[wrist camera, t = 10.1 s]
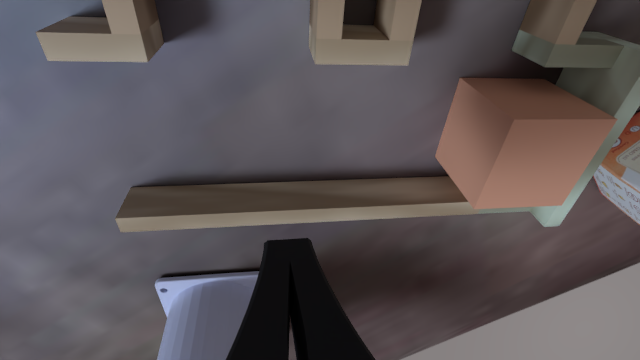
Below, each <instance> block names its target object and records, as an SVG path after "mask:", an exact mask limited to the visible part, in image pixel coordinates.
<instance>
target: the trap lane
mask: <svg viewBox="0 0 640 360" xmlns="http://www.w3.org/2000/svg"><path fill="white" fill-rule="evenodd" d="M596 1H597V0H530V3H529V6H528V8H527V11H526V14H525V16H524V19H523V21H522V24H521V27H520V29H519V32H518V34H517V37H516V40H515V42H514V45H513V47H512V51H514V52H516V53H518V54H520V55H522V56H524V57H525V58H527V59H529V60H531V61H533V62H535V63H537V64H539V65H541V66H543V67H564V68H563V70H562V72H561V74H560V76H559V78H558V80H557V82H556V86H558V87H560V88H561V89H563V90H565V91H567V92H569V93H571V94H572V95H574V96H576V97H578V98H580V99H582V100H583V101H585V102H587V103H589V104H591V105H593V106H594V107H596V108H598V109H600V110H602V111H604V112H605V113H607V114H609V115H611V116H613V117H615V118H616V119H618V120H617V121H616V123H615V124H614V126H613V128H612V129H611V131H610V132H609V134H608V135H607V137H606V138H605V140H604V141H603V143H602V144H601V146H600V147H599V149H598V151H597V152H596V154H595V155H594V157H593V158H592V160H591V161H590V163H589V164H588V166H587V167H586V169H585V171H584V172H583V174H582V175H581V177H580V178H579V180H578V181H577V183H576V184H575V186H574V187H573V189H572V190H571V192H570V194H569V195H568V197H567V198H566V200H565V201H564V203H563V204H562V206H539V207H515V208H492V209H473V207H472V206H471V205H470V203H469V202H468V201H467V199H466V198H465V197H464V195H463V194H462V192H461V191H460V190H459V188H458V187H457V186H456V184H455V183H454V182H453V180H452V179H451V178H450V176H440V177H412V178H383V179H355V180H326V181H298V182H269V183H241V184H213V185H184V186H156V187H131V188H130V190H129V192H128V194H127V196H126V198H125V200H124V202H123V204H122V206H121V208H120V210H119V212H118V214H117V216H116V218H115V220H116V222H117V224H118V227H119V229H120V231H121V232H136V231H156V230H175V229H194V228H213V227H233V226H252V225H271V224H290V223H309V222H329V221H348V220H367V219H386V218H406V217H425V216H444V215H463V214H482V213H502V212H521V211H530V212H531V213H532V214H533V215H534V216H535V218H536V219H537V220H538V221H539V222H540V223H541V224H542V225H543V226H544V227H550V226H559V225H560V224H561V222H562V221H563V219H564V218H565V216H566V215H567V213H568V212H569V210H570V209H571V208H572V206H573V205H574V203H575V202H576V200H577V199H578V197H579V196H580V194H581V193H582V191H583V190H584V188H585V187H586V185H587V184H588V182H589V181H590V179H591V178H592V176H593V175H594V173H595V172H596V170H597V169H598V167H599V166H600V164H601V163H602V161H603V160H604V158H605V157H606V155H607V154H608V152H609V151H610V149H611V148H612V146H613V145H614V143H615V142H616V140H617V139H618V137H619V136H620V134H621V133H622V131H623V130H624V128H625V127H626V125H627V124H628V122H629V121H630V119H631V118H632V116H633V115H634V113H635V112H636V110H637V109H638V108H639V106H640V45H638V44H635V43H632V42H629V41H625V40H622V39H619V38H616V37H613V36H610V35H607V34H603V33H600V32H582V30H583V28H584V26H585V24H586V22H587V20H588V18H589V16H590V14H591V12H592V10H593V8H594V6H595V4H596ZM421 2H422V0H377V3H376V10H375V17H374V25H343V15H344V4H345V0H310V25H309V48H310V51H311V54H312V56H313V59H314V62H315V64H336V65H408V63H409V59H410V54H411V49H412V44H413V40H414V35H415V30H416V25H417V21H418V16H419V11H420V6H421ZM102 3H103V6H104V10H105V13H106V16H107V18H105V17H71V16H70V17H67V18H65V19H63V20H61V21H59V22H57V23H54V24H52V25H50V26H48V27H46V28H44V29H41V30H39V31H37V32H36V34H37V36H38V39H39V41H40V44H41V46H42V48H43V51H44V53H45V55H46V58H47V60H48V61H100V62H148V61H149V60H150V59H151V58H152V57H153V56H154V54H155V53H156V52H157V51H158V50H159V49H160V48H161V46H162V45H163V44H164V41H163V36H162V32H161V27H160V22H159V18H158V13H157V8H156V4H155V0H102Z"/></svg>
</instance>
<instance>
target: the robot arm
mask: <svg viewBox="0 0 640 360" xmlns="http://www.w3.org/2000/svg"><path fill="white" fill-rule="evenodd" d="M155 288H156V290H157V293H158V295H159V298H160V301H161V303H162V306H163V308H164V311H165V313H166V316H167V322H166V326H165V330H164V334H163V338H162V342H161V346H160V350H159V354H158V358H157V360H288V357H289V324H290V317H291V324H292V331H293V338H294V344H295V351H296V358H297V360H375V358H374V357H373V356H372V354H371V353H370V351H369V350H368V348H367V347H366V345H365V344H364V342H363V341H362V339H361V338H360V336H359V335H358V333H357V332H356V330H355V329H354V327H353V325H352V324H351V322H350V321H349V319H348V317H347V316H346V314H345V312H344V311H343V309H342V307H341V305H340V304H339V302H338V300H337V298H336V296H335V294H334V292H333V291H332V289H331V287H330V285H329V283H328V281H327V279H326V277H325V275H324V273H323V270H322V268H321V266H320V264H319V261H318V259H317V257H316V254H315V251H314V249H313V246H312V242H311V240H309V239H308V238H303V239H286V240H268V241H267V242H265V243H264V251H263V257H262V262H261V266H260V270H259V271H252V272H237V273H223V274H209V275H195V276H181V277H166V278H159V279H157V280H156V283H155Z"/></svg>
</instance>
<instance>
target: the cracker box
mask: <svg viewBox="0 0 640 360" xmlns="http://www.w3.org/2000/svg"><path fill="white" fill-rule="evenodd" d="M593 178H594V180H595V182H596V185H597V187H598V189H599V191H600V193H601V194H602V195H603V196H605V197H606V198H607V199H608V200H609V201H610V202H612V203H613V204H614V205H615V206H617V207H618V208H619V209H620V210H621V211H623V212H624V213H625V214H626V215H628V216H629V217H630V218H631V219H633V220H634V221H635V222H636V223H638V224H639V225H640V111H639V112H638V113H636V114H635V115H633V116H632V118H631V119H630V121H629V122H628V124H627V125H626V127H625V128H624V130H623V131H622V133H621V134H620V136H619V137H618V139H617V140H616V142H615V143H614V145H613V146H612V148H611V149H610V151H609V152H608V154H607V155H606V157H605V158H604V160H603V161H602V163H601V164H600V166H599V167H598V169H597V170H596V172H595V173H594V175H593Z"/></svg>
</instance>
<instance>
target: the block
mask: <svg viewBox="0 0 640 360" xmlns="http://www.w3.org/2000/svg"><path fill="white" fill-rule="evenodd" d="M617 120H618V119H616V118H615V117H613V116H611V115H609V114H607V113H605V112H604V111H602V110H600V109H598V108H596V107H594V106H593V105H591V104H589V103H587V102H585V101H583V100H582V99H580V98H578V97H576V96H574V95H572V94H571V93H569V92H567V91H565V90H563V89H561V88H560V87H558V86H556V85H554V84H552V83H551V82H549V81H547V80H545V79H517V78H460V79H459V83H458V86H457V89H456V92H455V95H454V98H453V101H452V105H451V108H450V111H449V114H448V117H447V120H446V124H445V127H444V130H443V133H442V136H441V139H440V142H439V146H438V149H437V152H436V155H435V157H436V159H437V160H438V161H439V163H440V164H441V165H442V167H443V168H444V169H445V171H446V172H447V173H448V175H449V176H450V178H451V179H452V180H453V182H454V183H455V184H456V186H457V187H458V188H459V190H460V191H461V192H462V194H463V195H464V197H465V198H466V199H467V201H468V202H469V203H470V205H471V206H472V207H473V209H492V208H515V207H539V206H562V204H563V203H564V201H565V200H566V198H567V197H568V195H569V194H570V192H571V190H572V189H573V187H574V186H575V184H576V183H577V181H578V180H579V178H580V177H581V175H582V174H583V172H584V171H585V169H586V167H587V166H588V164H589V163H590V161H591V160H592V158H593V157H594V155H595V154H596V152H597V151H598V149H599V147H600V146H601V144H602V143H603V141H604V140H605V138H606V137H607V135H608V134H609V132H610V131H611V129H612V128H613V126H614V124H615V123H616V121H617Z"/></svg>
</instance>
